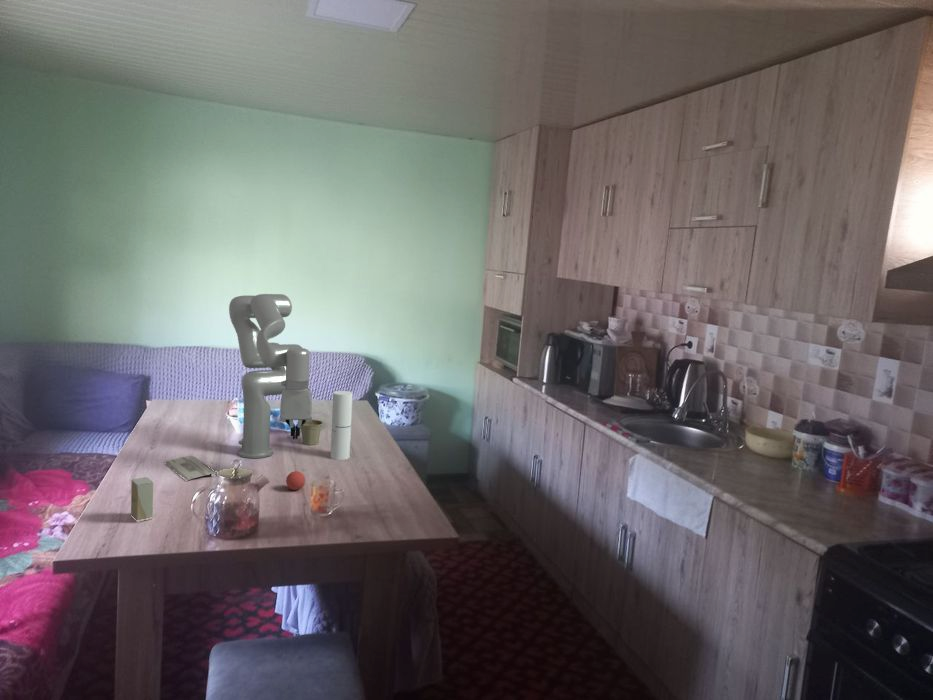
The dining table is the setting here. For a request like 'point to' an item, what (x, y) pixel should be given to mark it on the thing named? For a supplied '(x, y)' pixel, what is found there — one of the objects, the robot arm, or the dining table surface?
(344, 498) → the dining table surface
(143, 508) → the box
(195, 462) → the newspaper
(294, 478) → the ball
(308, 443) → the flower pot
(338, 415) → the cylindrical container
